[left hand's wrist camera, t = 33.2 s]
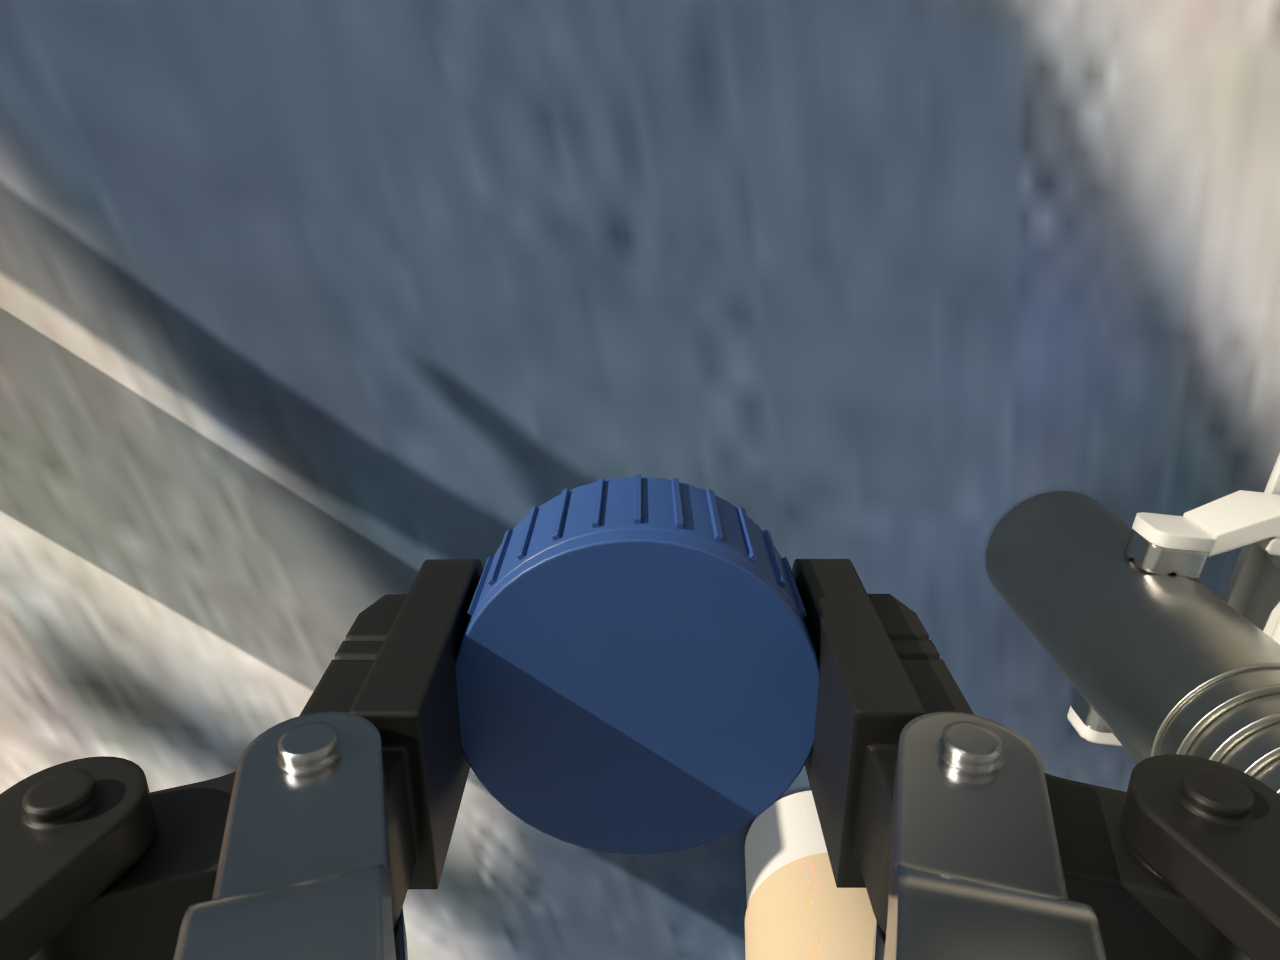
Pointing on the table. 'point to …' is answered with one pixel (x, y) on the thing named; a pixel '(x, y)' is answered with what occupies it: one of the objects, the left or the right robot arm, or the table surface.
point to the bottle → (1140, 638)
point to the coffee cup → (800, 891)
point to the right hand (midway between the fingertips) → (1106, 630)
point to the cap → (637, 668)
